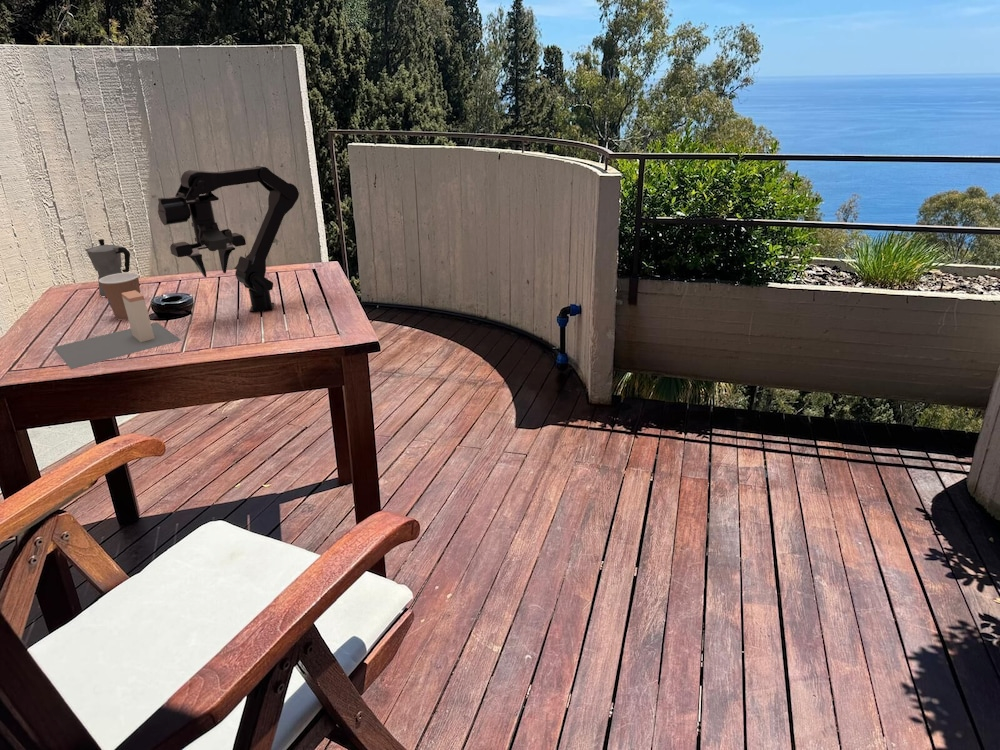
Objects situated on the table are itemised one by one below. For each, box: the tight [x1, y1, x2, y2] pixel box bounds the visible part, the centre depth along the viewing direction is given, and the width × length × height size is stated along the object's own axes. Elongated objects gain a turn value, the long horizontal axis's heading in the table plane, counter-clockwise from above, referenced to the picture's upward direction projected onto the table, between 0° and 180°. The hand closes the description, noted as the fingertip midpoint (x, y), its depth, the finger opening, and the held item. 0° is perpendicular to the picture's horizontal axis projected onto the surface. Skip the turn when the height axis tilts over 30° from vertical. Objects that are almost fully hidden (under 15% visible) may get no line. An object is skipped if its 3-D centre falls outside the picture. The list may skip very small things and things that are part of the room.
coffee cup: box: [98, 272, 141, 321], centre depth 194 cm, size 10×10×12 cm
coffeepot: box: [84, 238, 131, 297], centre depth 214 cm, size 15×9×18 cm, turn 80°
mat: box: [52, 321, 182, 370], centre depth 176 cm, size 26×20×1 cm
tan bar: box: [121, 290, 155, 342], centre depth 177 cm, size 4×7×12 cm, turn 42°
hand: (215, 274), depth 188 cm, fingers open, 5 cm apart
